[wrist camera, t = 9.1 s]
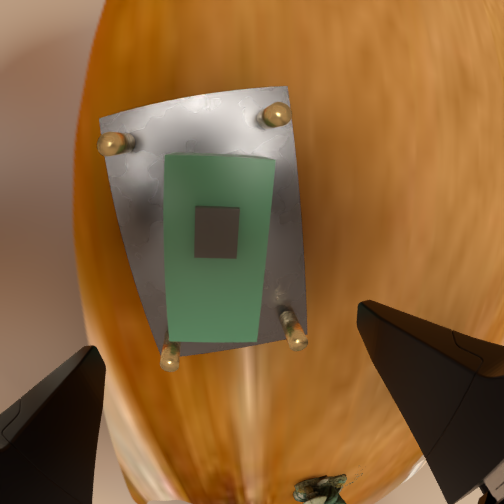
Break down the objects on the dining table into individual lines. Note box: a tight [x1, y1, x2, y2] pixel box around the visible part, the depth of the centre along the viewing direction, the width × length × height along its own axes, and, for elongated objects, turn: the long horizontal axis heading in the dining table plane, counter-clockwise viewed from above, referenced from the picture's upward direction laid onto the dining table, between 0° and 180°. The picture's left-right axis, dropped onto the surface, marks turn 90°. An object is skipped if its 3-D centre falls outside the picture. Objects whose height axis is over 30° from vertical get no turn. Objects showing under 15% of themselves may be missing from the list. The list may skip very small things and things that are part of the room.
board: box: [163, 152, 276, 342], centre depth 16 cm, size 10×5×4 cm, turn 175°
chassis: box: [97, 86, 308, 372], centre depth 17 cm, size 17×11×4 cm, turn 7°
